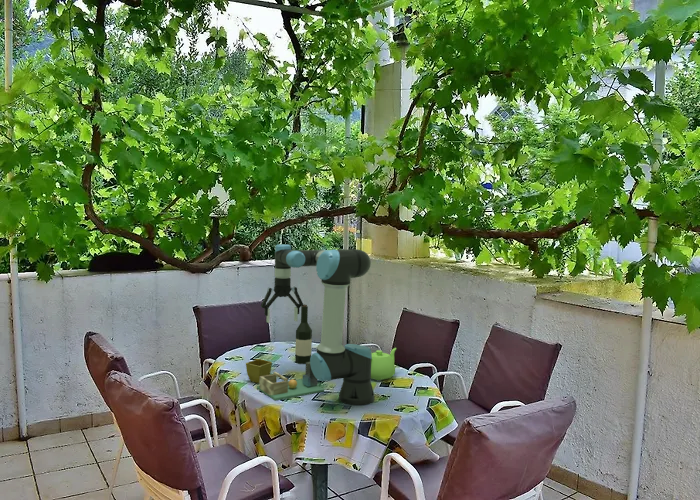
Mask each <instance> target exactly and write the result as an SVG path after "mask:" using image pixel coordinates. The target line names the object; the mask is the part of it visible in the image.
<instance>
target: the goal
mask: <svg viewBox="0 0 700 500" xmlns="http://www.w3.org/2000/svg"><path fill="white" fill-rule="evenodd" d="M277 378H279V379H280V380H282V381H277ZM288 381H289V379H288V377H285V376H284V375H282V374H280V373H278V372H277V371H274V372H273V374H270V375H266V376H259V383H258V386H259V388H260V389H261V390H262V391H264V392H265V393H267V394H269V395H277V394H282V393H288Z"/></svg>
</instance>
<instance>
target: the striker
mask: <svg viewBox="0 0 700 500" xmlns="http://www.w3.org/2000/svg"><path fill="white" fill-rule="evenodd" d="M302 379H303V380H302V384H304V385H306V386H307V387H309V386H315V385H317V386H318V382H319V380H318V379H317V378H316V377H315V376H314V374H313V372H312V369H311V365H310V362H306V364H305V374H302Z"/></svg>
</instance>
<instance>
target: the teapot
mask: <svg viewBox="0 0 700 500" xmlns="http://www.w3.org/2000/svg"><path fill="white" fill-rule="evenodd" d="M396 351H397V347H394V348H392V350H391V351H390V353H386V352H383V350H379V349H377V350H376V351H375V352H371V354H372V359H371V380H375V381H376V380H381V381H382V380H388V378H389V379H391V378H392V377H393V376H395V373H396V367H395V352H396Z"/></svg>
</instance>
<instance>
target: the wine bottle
mask: <svg viewBox="0 0 700 500" xmlns="http://www.w3.org/2000/svg"><path fill="white" fill-rule="evenodd" d="M308 310H309V306H308V304H304V303H303V306H301V307H300V311H301V312H300V324H298V327H297V328H296V330H295V350H294V351H295V353H294V355H295V356H294V358H295V359H294V362H295V363H296V364H298V365H306V362H310V358H311V356H312V348H313V347H312V346H313V345H312V344H313V343H312V339H313V337H312V336H313V329H312V328H311V326H310V324H309V323H308V318H309V317H308V316H309V315H308V313H309V311H308Z"/></svg>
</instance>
